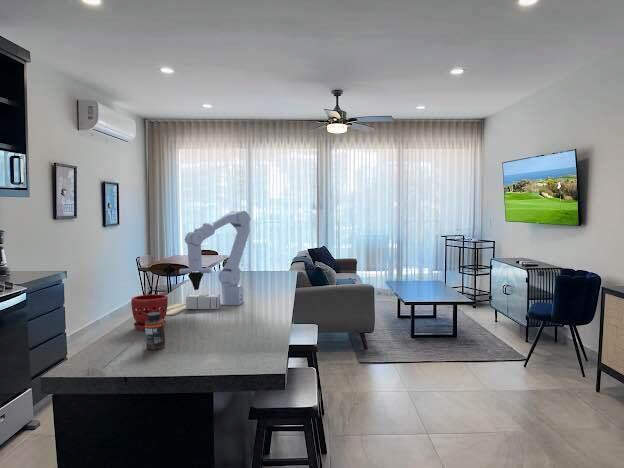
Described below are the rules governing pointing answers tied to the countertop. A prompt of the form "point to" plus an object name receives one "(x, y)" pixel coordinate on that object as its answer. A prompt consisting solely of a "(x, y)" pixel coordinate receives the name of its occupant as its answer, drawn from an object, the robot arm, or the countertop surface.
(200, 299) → the syrup box
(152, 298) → the plant pot
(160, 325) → the supplement bottle
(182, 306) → the wooden board
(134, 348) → the countertop surface
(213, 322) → the countertop surface
